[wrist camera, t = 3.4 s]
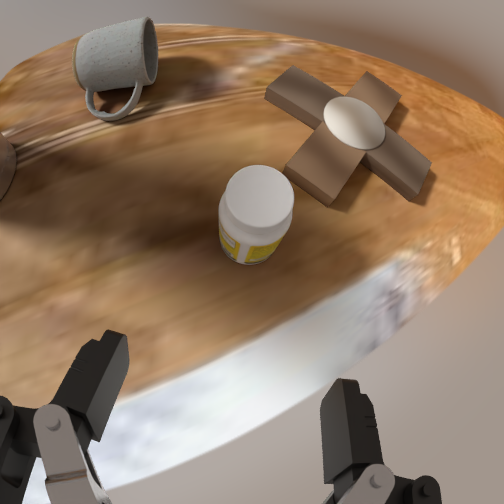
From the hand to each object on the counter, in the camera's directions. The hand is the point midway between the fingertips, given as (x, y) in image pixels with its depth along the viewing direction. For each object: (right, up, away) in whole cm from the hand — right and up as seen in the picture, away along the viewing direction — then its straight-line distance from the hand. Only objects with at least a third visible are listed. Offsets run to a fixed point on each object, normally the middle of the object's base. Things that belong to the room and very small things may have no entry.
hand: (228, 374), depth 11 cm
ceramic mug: (-13, +23, +18) cm, 32 cm away
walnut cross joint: (+11, +17, +19) cm, 27 cm away
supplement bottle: (0, +6, +15) cm, 16 cm away
